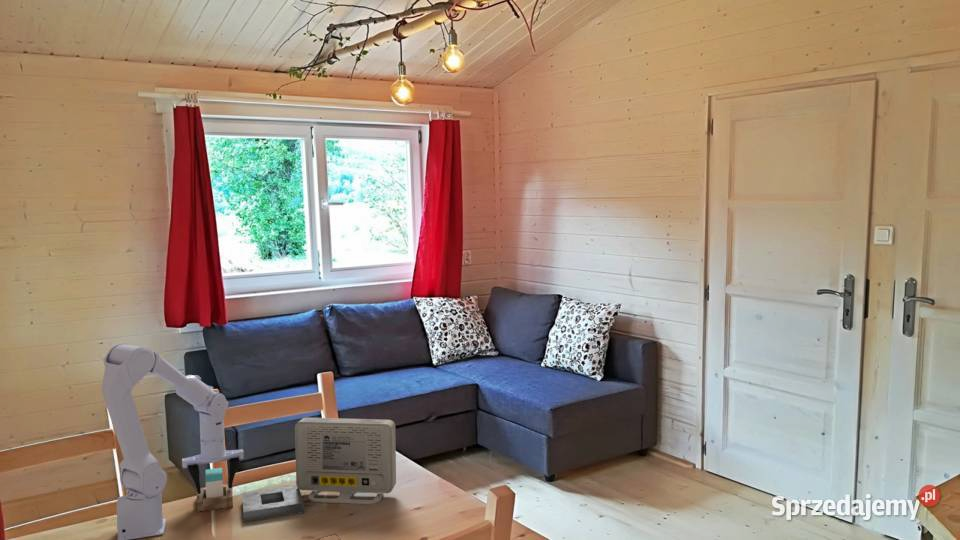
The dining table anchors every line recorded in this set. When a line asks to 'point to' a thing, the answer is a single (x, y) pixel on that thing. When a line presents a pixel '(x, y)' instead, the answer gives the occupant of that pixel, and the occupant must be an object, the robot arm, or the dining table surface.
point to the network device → (345, 457)
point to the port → (287, 507)
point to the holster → (214, 500)
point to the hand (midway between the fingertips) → (214, 489)
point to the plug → (214, 483)
